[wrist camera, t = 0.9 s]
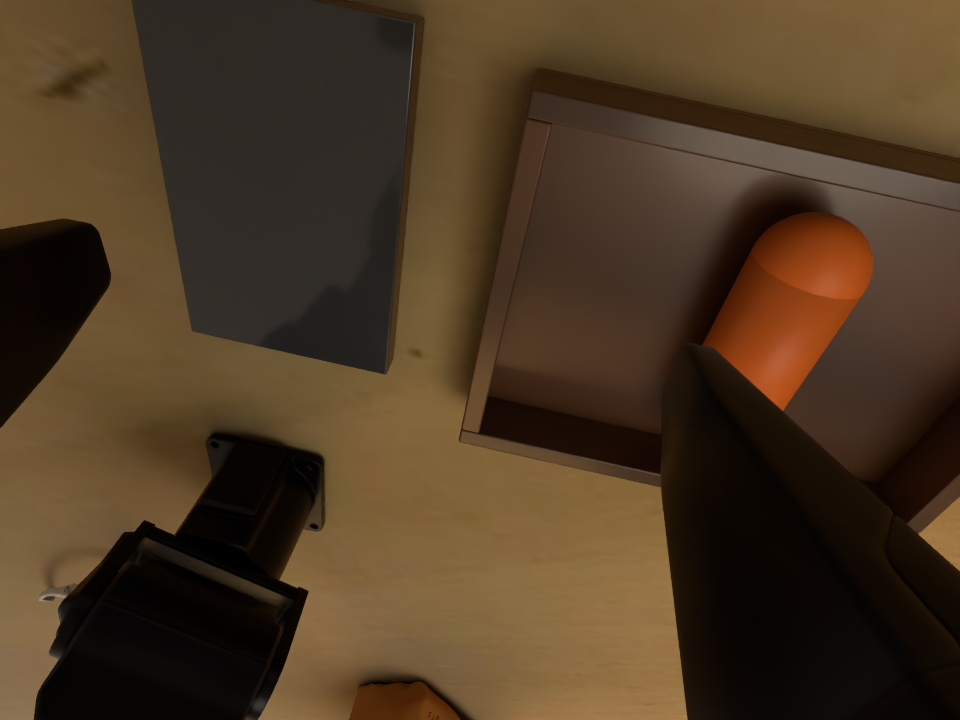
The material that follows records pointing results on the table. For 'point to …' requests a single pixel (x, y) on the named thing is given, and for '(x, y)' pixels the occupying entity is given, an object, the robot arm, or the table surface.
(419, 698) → the coffee package
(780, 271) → the orange capsule
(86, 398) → the table surface
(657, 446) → the tray
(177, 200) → the slate board
